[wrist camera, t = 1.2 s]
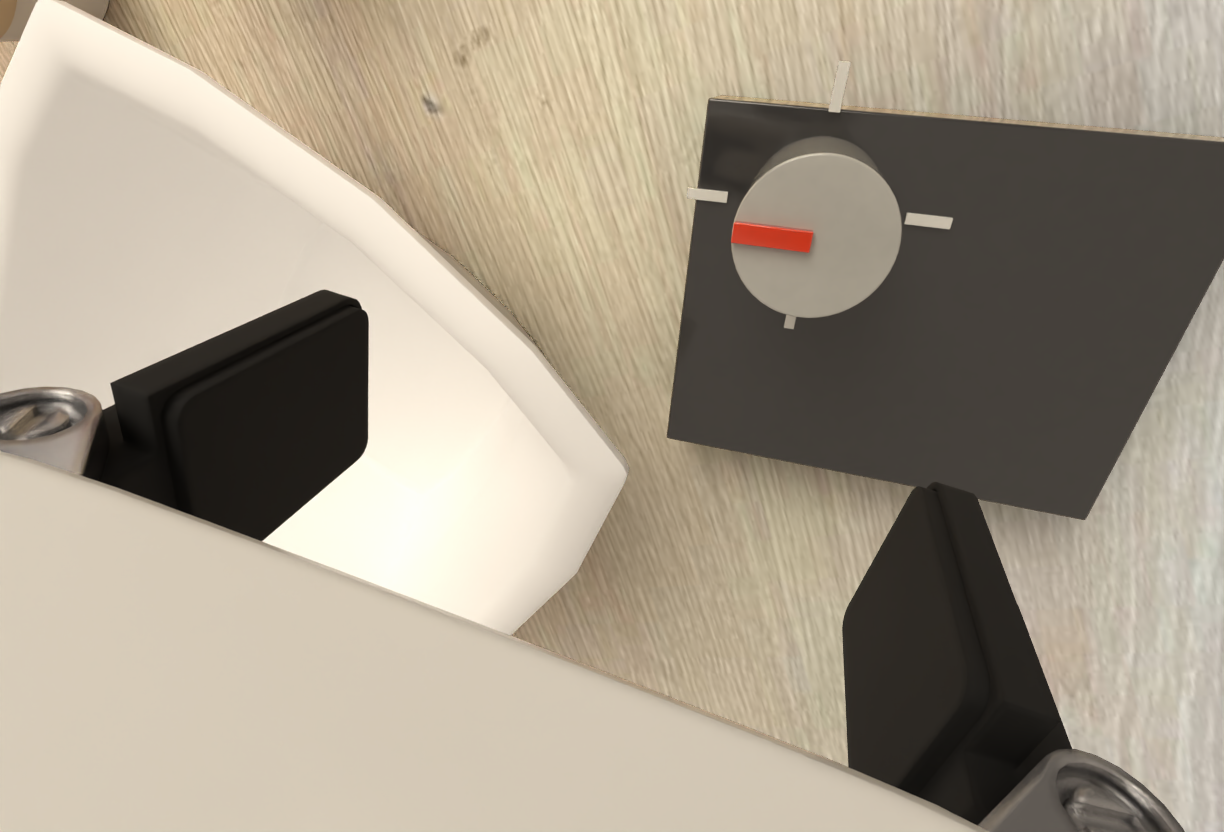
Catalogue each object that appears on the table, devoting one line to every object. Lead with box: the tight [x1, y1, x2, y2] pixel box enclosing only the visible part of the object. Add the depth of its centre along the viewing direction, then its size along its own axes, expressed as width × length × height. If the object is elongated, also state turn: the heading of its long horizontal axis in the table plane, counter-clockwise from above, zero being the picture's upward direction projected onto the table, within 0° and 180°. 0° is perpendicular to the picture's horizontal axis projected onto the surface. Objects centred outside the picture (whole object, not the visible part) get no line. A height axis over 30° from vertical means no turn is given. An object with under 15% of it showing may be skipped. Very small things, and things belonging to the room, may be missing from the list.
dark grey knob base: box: [667, 61, 1224, 520], centre depth 23 cm, size 16×14×3 cm
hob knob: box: [731, 136, 902, 318], centre depth 19 cm, size 4×4×5 cm
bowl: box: [0, 0, 629, 635], centre depth 29 cm, size 24×25×10 cm
